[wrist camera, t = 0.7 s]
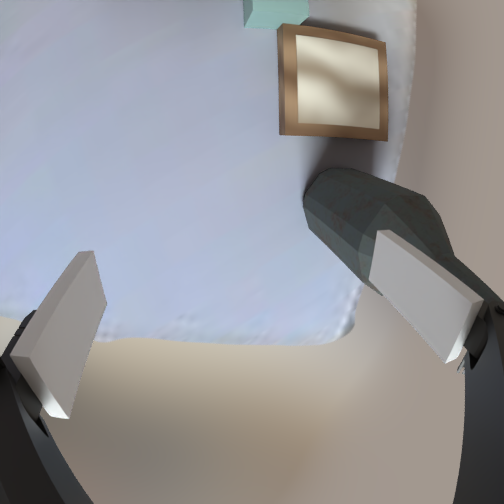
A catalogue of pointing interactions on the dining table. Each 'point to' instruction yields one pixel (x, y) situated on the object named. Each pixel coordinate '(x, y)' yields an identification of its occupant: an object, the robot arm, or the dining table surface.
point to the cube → (274, 13)
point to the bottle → (379, 223)
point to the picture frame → (331, 84)
